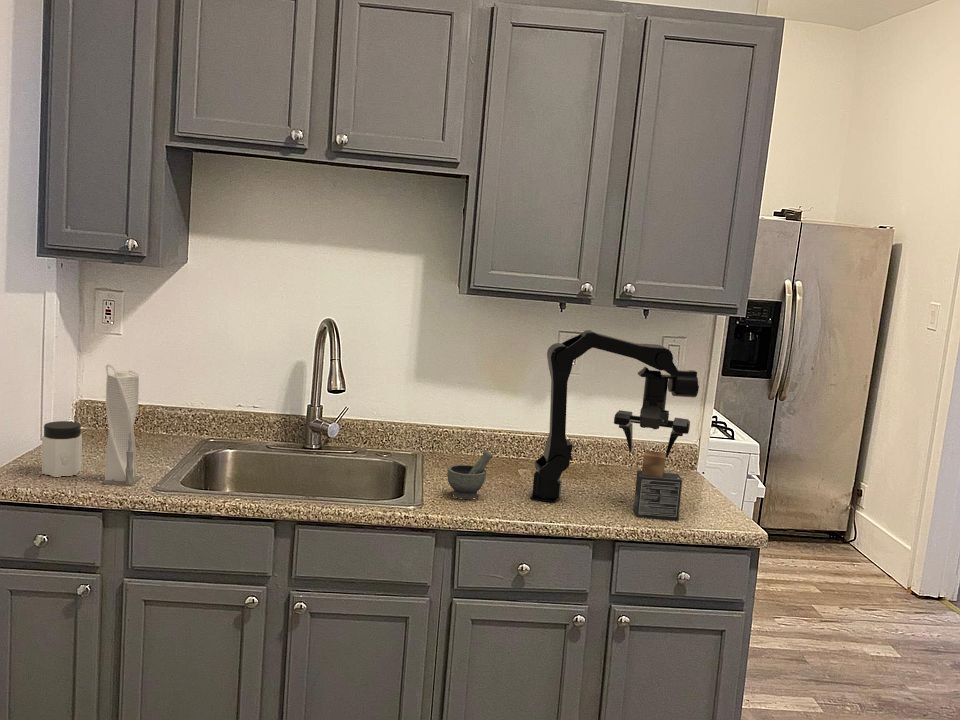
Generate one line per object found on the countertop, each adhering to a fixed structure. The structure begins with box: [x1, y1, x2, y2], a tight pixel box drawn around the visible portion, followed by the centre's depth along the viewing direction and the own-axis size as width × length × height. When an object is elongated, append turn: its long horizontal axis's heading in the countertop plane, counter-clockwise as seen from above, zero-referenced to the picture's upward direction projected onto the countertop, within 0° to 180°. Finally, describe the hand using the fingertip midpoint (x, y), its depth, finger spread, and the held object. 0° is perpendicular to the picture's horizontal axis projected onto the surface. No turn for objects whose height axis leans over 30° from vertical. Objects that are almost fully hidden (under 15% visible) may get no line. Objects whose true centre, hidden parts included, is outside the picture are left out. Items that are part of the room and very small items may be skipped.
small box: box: [632, 470, 683, 521], centre depth 232 cm, size 11×6×10 cm, turn 88°
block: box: [641, 450, 667, 478], centre depth 231 cm, size 5×5×5 cm
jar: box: [41, 420, 83, 476], centre depth 226 cm, size 9×8×12 cm
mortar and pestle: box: [446, 449, 494, 500], centre depth 234 cm, size 11×9×12 cm
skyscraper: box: [101, 364, 143, 487], centre depth 223 cm, size 8×8×28 cm
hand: (648, 454), depth 240 cm, fingers open, 9 cm apart
